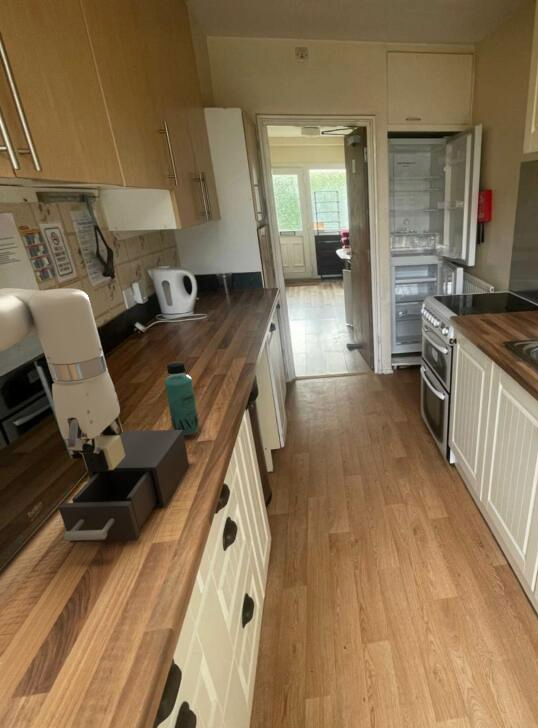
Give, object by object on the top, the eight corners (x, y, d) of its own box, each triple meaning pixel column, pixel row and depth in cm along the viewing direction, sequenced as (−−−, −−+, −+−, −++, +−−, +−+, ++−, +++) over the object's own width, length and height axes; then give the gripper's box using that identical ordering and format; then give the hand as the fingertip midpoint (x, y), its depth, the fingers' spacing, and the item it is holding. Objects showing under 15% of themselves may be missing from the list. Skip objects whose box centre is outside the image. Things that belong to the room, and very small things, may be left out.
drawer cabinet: (164, 507, 86) (155, 467, 82) (98, 509, 85) (86, 468, 81) (189, 465, 99) (182, 429, 96) (133, 467, 98) (124, 430, 95)
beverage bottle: (168, 438, 110) (153, 366, 102) (185, 426, 116) (172, 357, 108) (190, 442, 109) (177, 369, 101) (206, 430, 115) (195, 360, 107)
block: (87, 470, 74) (80, 448, 72) (100, 456, 78) (94, 435, 77) (113, 469, 75) (107, 448, 73) (125, 455, 79) (120, 435, 77)
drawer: (125, 559, 72) (115, 523, 69) (54, 562, 71) (41, 525, 68) (167, 493, 89) (160, 461, 86) (109, 494, 88) (100, 462, 85)
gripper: (84, 350, 77) (109, 438, 84) (17, 388, 61) (54, 492, 68) (127, 350, 77) (148, 437, 84) (72, 388, 62) (103, 491, 69)
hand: (106, 461), depth 76 cm, fingers closed on block, 4 cm apart
